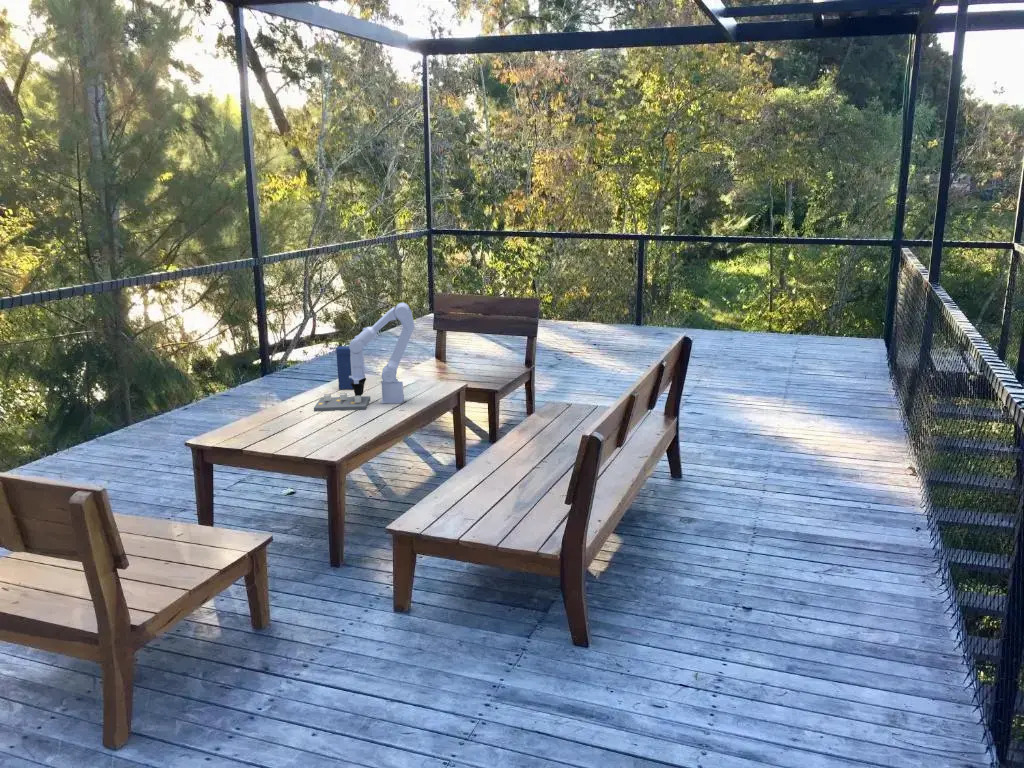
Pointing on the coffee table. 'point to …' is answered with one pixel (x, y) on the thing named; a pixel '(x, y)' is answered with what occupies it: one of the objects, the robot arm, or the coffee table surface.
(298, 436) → the coffee table surface
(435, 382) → the coffee table surface
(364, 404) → the switch panel
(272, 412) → the coffee table surface
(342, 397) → the switch
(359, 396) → the switch
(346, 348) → the electronic device
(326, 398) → the switch
